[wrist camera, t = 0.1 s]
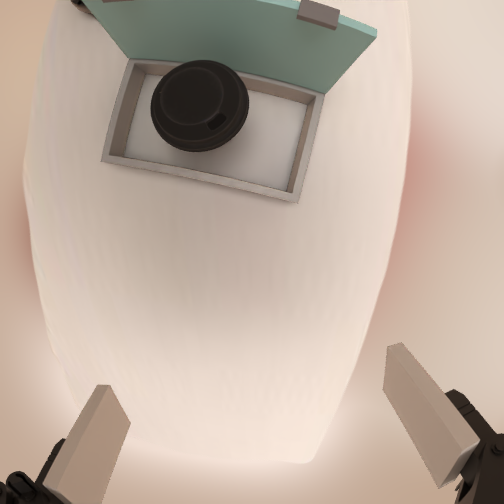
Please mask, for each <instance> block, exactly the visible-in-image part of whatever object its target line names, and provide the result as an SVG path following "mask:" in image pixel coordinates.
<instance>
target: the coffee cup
mask: <svg viewBox="0 0 504 504" xmlns="http://www.w3.org/2000/svg"><path fill="white" fill-rule="evenodd" d="M248 110H249V96H248V92H247V89H246V86H245V84H244V82H243V81H242V79H241V78H240V77H239V76H238V74H237V73H236V72H235V71H234V70H232V69H231V68H229V67H228V66H226V65H224V64H222V63H219V62H216V61H212V60H194V61H190V62H186V63H184V64H181V65H179V66H177V67H175V68H174V69H172V70H171V71H170V72H168V73H167V74H166V75H165V76H164V77H163V78H162V79H161V81H160V82H159V83H158V85H157V87H156V88H155V91H154V93H153V96H152V100H151V117H152V121H153V124H154V126H155V128H156V130H157V132H158V133H159V135H160V136H161V137H162V138H163V139H164V140H165V141H166V142H167V143H169V144H170V145H172V146H173V147H176V148H178V149H180V150H184V151H189V152H203V151H208V150H212V149H215V148H217V147H220V146H222V145H224V144H225V143H227V142H228V141H229V140H231V139H232V138H233V137H234V136H235V135H236V134H237V133H238V132H239V130H240V129H241V128H242V126H243V124H244V122H245V120H246V118H247V114H248Z"/></svg>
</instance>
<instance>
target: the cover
mask: <svg viewBox="0 0 504 504" xmlns="http://www.w3.org/2000/svg"><path fill="white" fill-rule="evenodd" d="M82 1H83V3H84V4H85V5H86V6H87V8H88V9H89V10H90V11H91V13H92V14H93V15H94V16H95V17H96V19H97V20H98V21H99V22H100V24H101V25H102V26H103V27H104V29H105V30H106V31H107V32H108V34H109V35H110V36H111V37H112V39H113V40H114V41H115V43H116V44H117V45H118V46H119V48H120V49H121V50H122V51H123V53H124V54H125V55H126V56H127V58H137V59H154V60H167V61H177V62H190V61H194V60H212V61H216V62H219V63H222V64H224V65H226V66H228V67H229V68H231V69H232V70H237V71H242V72H247V73H251V74H256V75H260V76H265V77H269V78H273V79H277V80H281V81H284V82H288V83H292V84H295V85H299V86H302V87H306V88H309V89H312V90H315V91H318V92H321V93H325V94H326V93H327V92H328V91H329V90H330V89H331V87H332V86H333V85H334V84H335V83H336V82H337V81H338V80H339V78H340V77H341V76H342V75H343V74H344V73H345V72H346V70H347V69H348V68H349V67H350V66H351V65H352V64H353V63H354V62H355V60H356V59H357V58H358V57H359V56H360V55H361V54H362V53H363V52H364V51H365V49H366V48H367V47H368V46H369V45H370V44H371V43H372V42H373V41H374V40H375V39H376V37H377V29H375V28H373V27H370V26H368V25H366V24H363V23H361V22H358V21H356V20H353V19H351V18H348V17H345V16H343V15H340V14H339V13H340V10H338V9H335V8H332V7H329V6H326V5H323V4H320V3H317V2H313V1H310V0H301V2H298V1H294V0H82Z"/></svg>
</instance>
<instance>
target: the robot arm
mask: <svg viewBox="0 0 504 504" xmlns="http://www.w3.org/2000/svg"><path fill="white" fill-rule="evenodd" d="M71 2H72V4H73V5H74V6H76V7H77V8H78V9H79V10H80V11H83V12H86V13H91V11H90V10H89V9H88V8H87V6H86V5H85V4H84V3H83V1H82V0H71ZM383 391H384V393H385V394H386V396H387V398H388V399H389V401H390V403H391V405H392V406H393V408H394V409H395V411H396V413H397V415H398V416H399V418H400V420H401V422H402V423H403V425H404V427H405V429H406V430H407V432H408V434H409V436H410V438H411V439H412V441H413V443H414V444H415V446H416V448H417V450H418V452H419V454H420V455H421V457H422V459H423V461H424V463H425V465H426V466H427V468H428V470H429V472H430V474H431V476H432V477H433V479H434V481H435V483H436V485H437V487H438V489H439V488H441V487H443V486H445V485H447V484H448V483H451V482H452V481H454V480H455V479H456V478H457V476H458V475H459V474H461V475H462V477H463V479H462V480H461V482H460V483H459V484H458V486H457V487H456V489H455V491H457V490H458V489H459V491H458V494H457V498H456V501H455V504H504V434H502V433H501V434H497V433H495V431H494V430H493V429H492V428H491V427H490V425H489V424H488V423H487V422H486V421H485V420H484V418H483V417H482V416H481V415H480V413H479V412H478V411H477V410H475V407H474V406H473V405H472V404H470V401H469V400H468V399H467V398H466V397H465V395H464V394H462V393H460V392H458V391H456V390H454V389H453V390H451V391H449V392H447V393H444V392H443V391H442V390H441V389H440V387H439V386H438V385H437V384H436V383H435V381H434V380H433V379H432V378H431V376H430V375H429V374H428V373H427V372H426V370H424V368H423V367H422V366H421V365H420V363H419V362H418V361H417V360H416V359H415V358H414V356H413V355H412V354H411V353H410V352H409V351H408V349H407V348H406V347H405V346H404V344H403V343H398V344H394V345H391V346H388V347H387V356H386V367H385V376H384V385H383ZM130 424H131V422H130V421H129V419H128V417H127V415H126V414H125V412H124V410H123V408H122V407H121V405H120V403H119V401H118V399H117V397H116V396H115V394H114V392H113V390H112V388H111V386H110V385H97V387H96V388H95V390H94V392H93V393H92V395H91V397H90V398H89V400H88V402H87V403H86V405H85V407H84V408H83V410H82V412H81V414H80V415H79V417H78V419H77V420H76V422H75V424H74V426H73V428H72V429H71V431H70V433H69V435H68V436H67V438H66V439H63V438H62V439H61V440H60V441H59V442H58V443H57V444H56V445H55V446H54V448H53V450H52V452H51V455H49V457H48V461H46V463H45V465H44V466H43V468H42V470H41V472H40V474H39V476H38V478H37V479H36V481H35V483H34V482H33V481H32V480H31V479H30V478H29V477H28V476H27V475H26V474H25V473H24V472H21V471H16V472H13V473H12V474H10V475H9V476H8V478H7V480H6V485H5V484H4V483H2V482H0V504H101V503H102V500H103V497H104V494H105V492H106V489H107V486H108V483H109V480H110V477H111V474H112V472H113V469H114V466H115V464H116V461H117V458H118V455H119V453H120V450H121V447H122V445H123V442H124V440H125V437H126V434H127V432H128V429H129V427H130Z"/></svg>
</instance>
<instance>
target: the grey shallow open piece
mask: <svg viewBox="0 0 504 504" xmlns="http://www.w3.org/2000/svg"><path fill="white" fill-rule="evenodd" d="M184 63H186V62H177V61H167V60H154V59H137V58H130V59H129V62H128V64H127V67H126V70H125V73H124V76H123V79H122V82H121V85H120V88H119V92H118V95H117V98H116V102H115V105H114V109H113V112H112V116H111V120H110V124H109V128H108V132H107V136H106V140H105V145H104V149H103V154H102V159H101V162H105V163H111V164H117V165H123V166H129V167H135V168H141V169H146V170H152V171H157V172H162V173H167V174H172V175H177V176H182V177H187V178H192V179H197V180H202V181H206V182H211V183H215V184H220V185H224V186H229V187H233V188H237V189H242V190H246V191H250V192H254V193H258V194H262V195H266V196H270V197H274V198H278V199H282V200H286V201H290V202H294V203H298V202H299V198H300V194H301V190H302V186H303V182H304V179H305V175H306V171H307V167H308V163H309V159H310V155H311V151H312V147H313V143H314V138H315V134H316V130H317V126H318V122H319V118H320V113H321V109H322V105H323V100H324V96H325V93H321V92H318V91H315V90H312V89H309V88H306V87H302V86H299V85H295V84H292V83H288V82H284V81H281V80H277V79H273V78H269V77H265V76H260V75H256V74H251V73H247V72H242V71H237V70H234V71H235V72H236V73H237V74H238V76H239V77H240V78H241V79H242V81H243V82H244V84H245V86H246V89H249V90H254V91H258V92H262V93H267V94H271V95H275V96H278V97H282V98H286V99H290V100H293V101H297V102H300V103H303V104H307V105H308V107H307V111H306V115H305V119H304V123H303V127H302V131H301V136H300V140H299V144H298V148H297V152H296V156H295V160H294V164H293V168H292V171H291V175H290V179H289V183H288V187H287V191H282V190H278V189H274V188H270V187H266V186H262V185H258V184H254V183H250V182H246V181H242V180H237V179H233V178H229V177H224V176H220V175H215V174H211V173H206V172H201V171H196V170H191V169H187V168H182V167H176V166H171V165H166V164H161V163H155V162H149V161H144V160H138V159H132V158H126V157H123V155H124V151H125V146H126V142H127V138H128V134H129V130H130V126H131V122H132V118H133V115H134V111H135V107H136V104H137V100H138V97H139V94H140V90H141V87H142V84H143V81H144V78H145V75H146V74H152V75H163V76H165V75H166V74H167V73H168V72H170V71H171V70H172V69H174V68H175V67H177V66H179V65H181V64H184Z"/></svg>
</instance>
